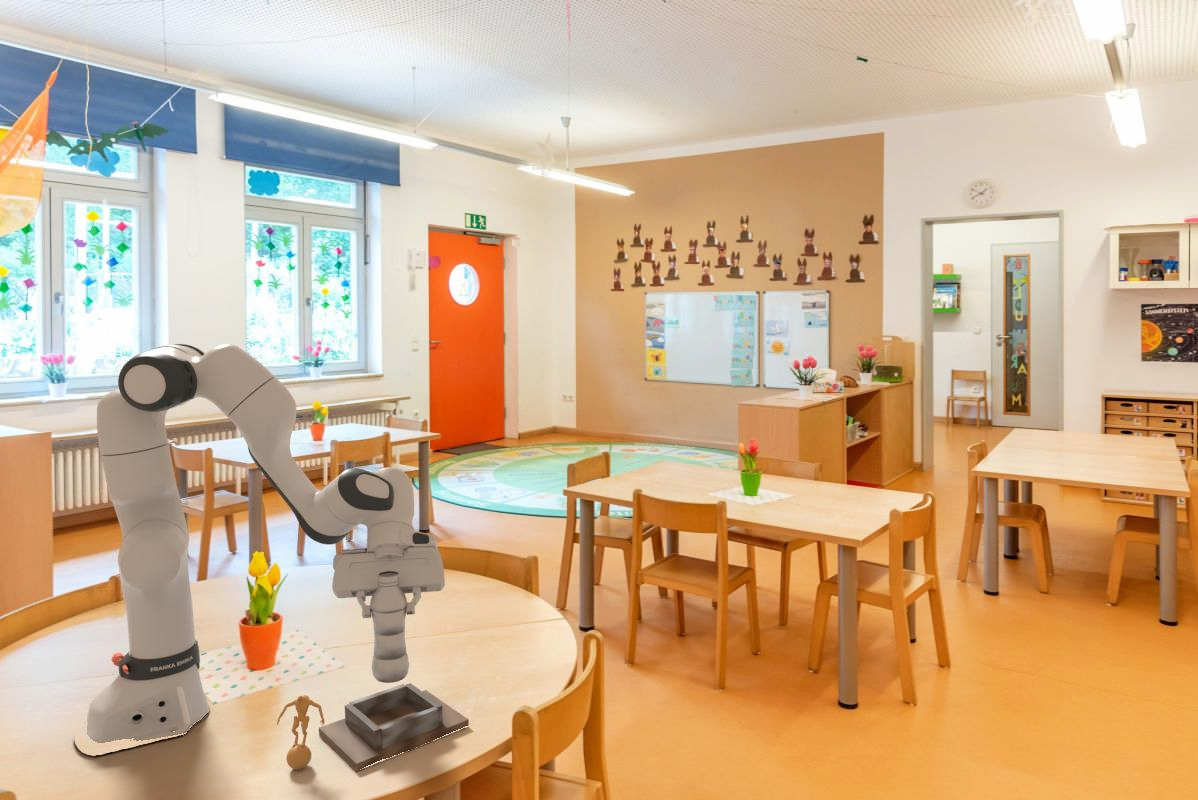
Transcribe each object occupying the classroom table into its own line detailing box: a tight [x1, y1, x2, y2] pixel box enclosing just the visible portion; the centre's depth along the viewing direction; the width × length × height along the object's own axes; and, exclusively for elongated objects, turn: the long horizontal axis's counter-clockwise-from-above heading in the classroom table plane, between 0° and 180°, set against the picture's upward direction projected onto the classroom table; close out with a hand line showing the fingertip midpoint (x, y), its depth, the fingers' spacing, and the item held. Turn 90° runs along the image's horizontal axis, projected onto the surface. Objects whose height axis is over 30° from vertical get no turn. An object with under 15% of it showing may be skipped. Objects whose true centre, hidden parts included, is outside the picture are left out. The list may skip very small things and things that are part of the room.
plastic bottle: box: [369, 571, 410, 684], centre depth 151 cm, size 6×7×20 cm
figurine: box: [276, 694, 325, 770], centre depth 142 cm, size 8×6×12 cm
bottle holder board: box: [318, 682, 470, 772], centre depth 153 cm, size 22×16×5 cm
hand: (388, 615), depth 150 cm, fingers closed on plastic bottle, 6 cm apart
